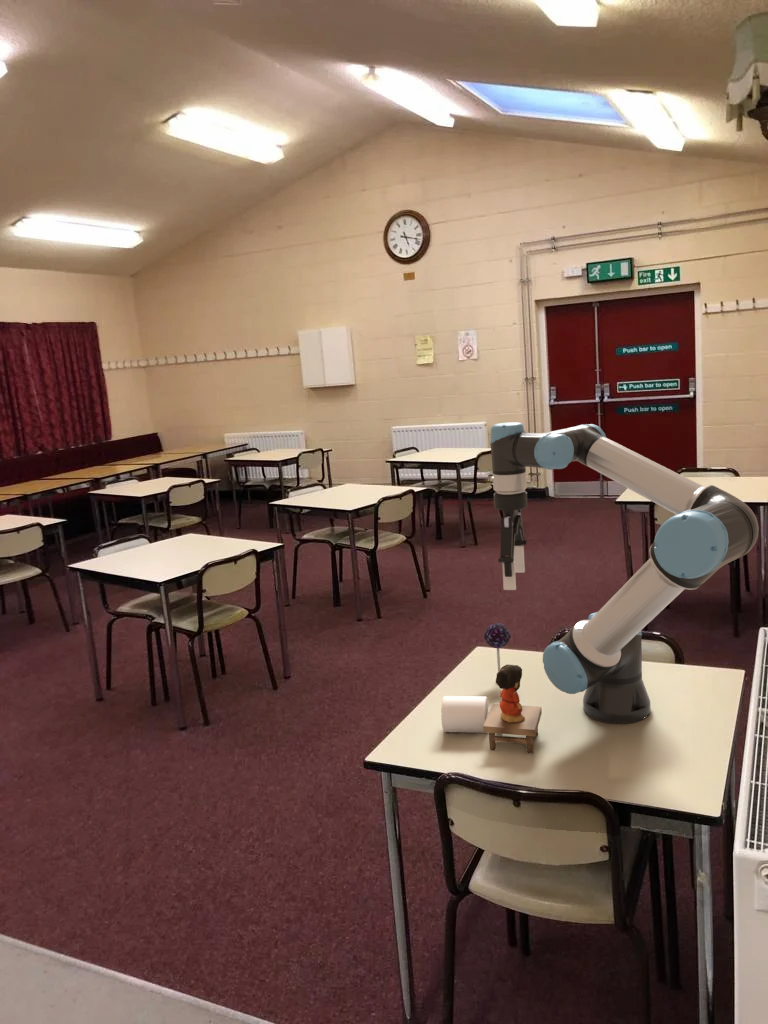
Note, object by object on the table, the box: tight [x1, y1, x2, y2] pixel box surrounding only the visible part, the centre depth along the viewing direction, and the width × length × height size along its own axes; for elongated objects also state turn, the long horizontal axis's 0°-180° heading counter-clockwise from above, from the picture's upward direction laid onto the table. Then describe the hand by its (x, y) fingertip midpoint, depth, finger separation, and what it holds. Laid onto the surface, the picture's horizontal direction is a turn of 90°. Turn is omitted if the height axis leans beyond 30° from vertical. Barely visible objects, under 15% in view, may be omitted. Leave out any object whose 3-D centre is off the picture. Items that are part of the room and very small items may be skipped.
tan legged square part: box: [483, 703, 542, 755], centre depth 174 cm, size 11×11×6 cm
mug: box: [440, 695, 490, 734], centre depth 183 cm, size 12×10×8 cm
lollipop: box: [483, 622, 512, 673], centre depth 207 cm, size 7×7×15 cm
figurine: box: [495, 664, 525, 723], centre depth 171 cm, size 6×6×12 cm
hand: (514, 580), depth 184 cm, fingers open, 13 cm apart
